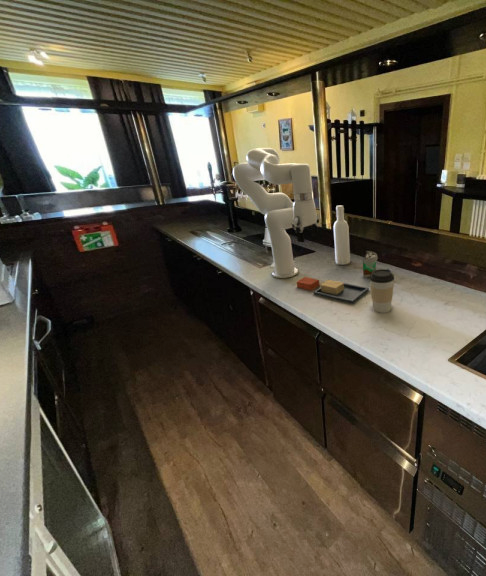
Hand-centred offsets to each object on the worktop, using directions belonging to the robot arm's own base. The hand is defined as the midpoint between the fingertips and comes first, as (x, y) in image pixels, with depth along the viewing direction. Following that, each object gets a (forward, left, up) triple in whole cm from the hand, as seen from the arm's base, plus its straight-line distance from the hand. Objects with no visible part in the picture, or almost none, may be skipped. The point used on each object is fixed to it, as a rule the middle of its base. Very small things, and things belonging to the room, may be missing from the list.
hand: (308, 238), depth 128 cm
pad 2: (+11, -1, -21) cm, 24 cm away
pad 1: (-1, -2, -22) cm, 22 cm away
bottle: (-4, +32, -22) cm, 39 cm away
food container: (+18, +23, -22) cm, 36 cm away
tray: (+16, -1, -22) cm, 27 cm away
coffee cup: (+37, -5, -22) cm, 43 cm away
